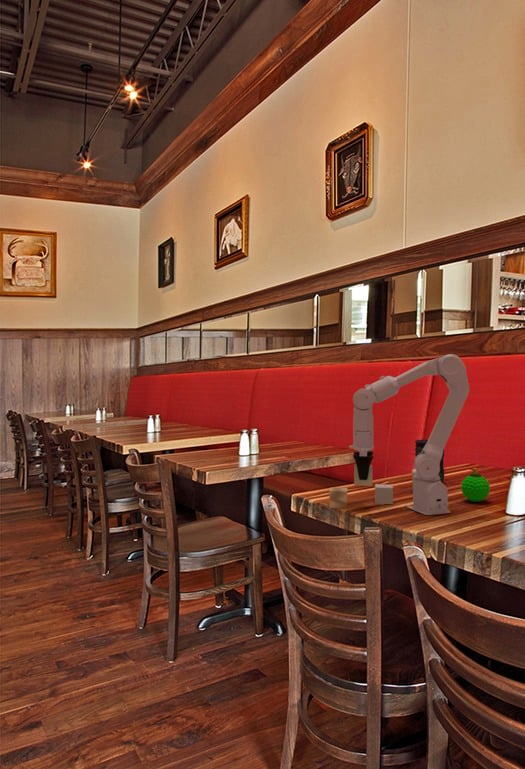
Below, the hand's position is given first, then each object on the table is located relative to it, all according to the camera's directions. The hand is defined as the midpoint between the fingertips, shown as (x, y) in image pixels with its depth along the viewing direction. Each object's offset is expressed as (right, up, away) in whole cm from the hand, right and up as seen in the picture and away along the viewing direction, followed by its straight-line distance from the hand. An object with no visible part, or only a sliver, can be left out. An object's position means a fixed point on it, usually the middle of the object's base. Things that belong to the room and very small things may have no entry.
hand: (363, 478), depth 156 cm
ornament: (+35, -8, +6) cm, 36 cm away
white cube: (+7, -8, +6) cm, 13 cm away
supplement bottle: (+22, -8, +19) cm, 30 cm away
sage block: (0, -2, 0) cm, 2 cm away
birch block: (-7, -9, +1) cm, 11 cm away
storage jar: (+30, -8, +34) cm, 46 cm away
